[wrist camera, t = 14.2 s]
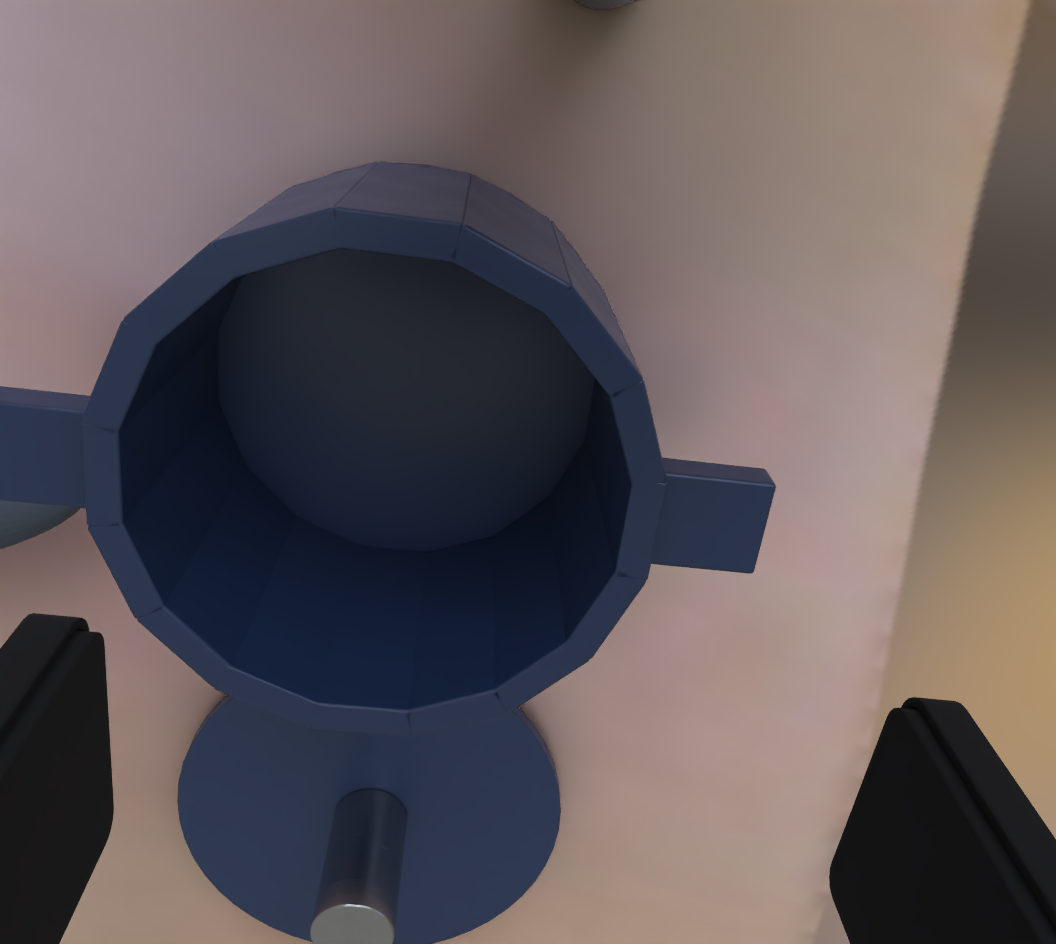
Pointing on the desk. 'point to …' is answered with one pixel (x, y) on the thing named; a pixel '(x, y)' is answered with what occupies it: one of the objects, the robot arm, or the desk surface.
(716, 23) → the desk surface
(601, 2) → the marker
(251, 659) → the pot
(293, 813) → the lid
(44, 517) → the grey microphone
